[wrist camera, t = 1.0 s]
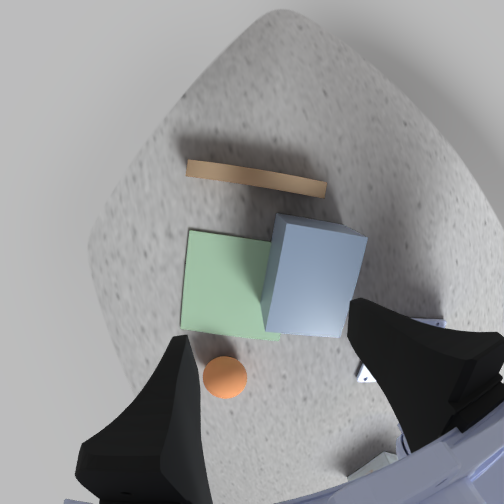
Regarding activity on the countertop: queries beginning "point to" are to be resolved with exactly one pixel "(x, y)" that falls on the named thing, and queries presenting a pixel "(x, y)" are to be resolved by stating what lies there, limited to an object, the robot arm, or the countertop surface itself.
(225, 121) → the countertop surface
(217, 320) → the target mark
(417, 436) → the robot arm
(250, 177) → the wall
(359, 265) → the grey-blue rectangular brick
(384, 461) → the small box
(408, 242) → the countertop surface
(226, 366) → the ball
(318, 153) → the countertop surface
